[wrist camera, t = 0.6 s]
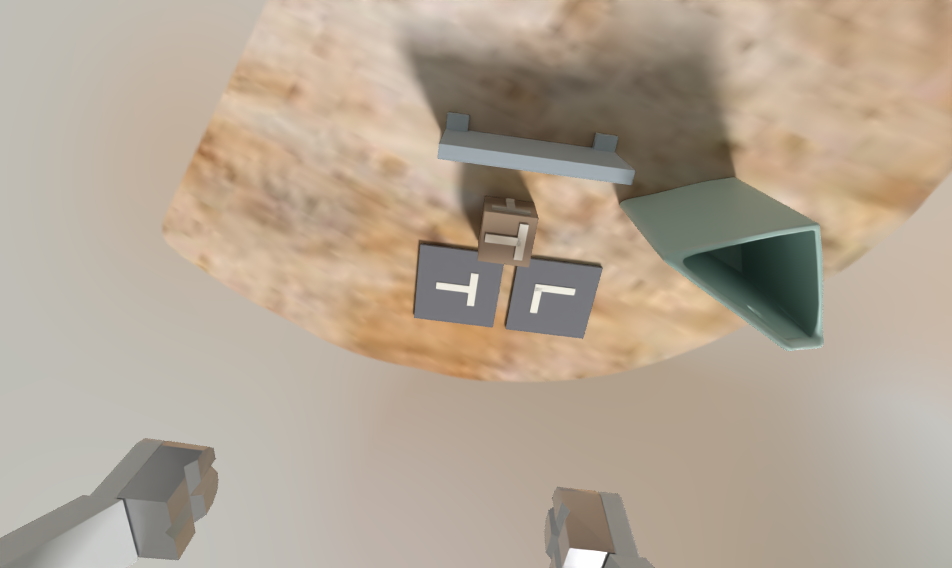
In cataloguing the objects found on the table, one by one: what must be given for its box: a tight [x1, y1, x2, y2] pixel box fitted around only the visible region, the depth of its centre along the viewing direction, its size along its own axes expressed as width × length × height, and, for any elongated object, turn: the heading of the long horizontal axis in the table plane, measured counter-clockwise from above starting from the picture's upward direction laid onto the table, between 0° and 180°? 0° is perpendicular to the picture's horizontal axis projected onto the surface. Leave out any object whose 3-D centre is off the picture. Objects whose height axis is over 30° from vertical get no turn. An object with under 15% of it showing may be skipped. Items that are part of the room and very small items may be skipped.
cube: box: [477, 196, 539, 267], centre depth 47 cm, size 5×5×5 cm
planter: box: [620, 177, 824, 351], centre depth 40 cm, size 16×8×20 cm, turn 61°
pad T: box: [414, 243, 504, 327], centre depth 53 cm, size 9×9×1 cm
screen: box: [438, 112, 635, 185], centre depth 42 cm, size 4×16×8 cm, turn 83°
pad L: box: [506, 258, 603, 339], centre depth 53 cm, size 9×9×1 cm
